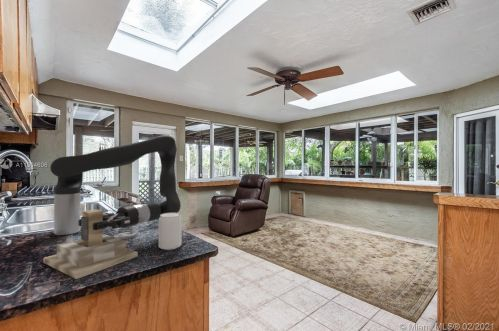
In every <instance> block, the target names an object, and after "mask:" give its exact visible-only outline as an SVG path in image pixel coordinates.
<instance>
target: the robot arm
mask: <svg viewBox="0 0 499 331" xmlns="http://www.w3.org/2000/svg"><path fill="white" fill-rule="evenodd" d="M177 150H178V148H177V144H176V139H175V138H174V137H173V136H172V135H169V134H167V135H166V134H164V135H159V136H154V137H151V138H148V139H145V140H142V141H137V142H133V143H129V144H122V145H117V146H112V147H109V148H103V149H99V150H97V151H94V152H89V153H85V154H78V155H70V156H68V155H67V156H60V157H57V158H56V159H54V160H53V161H52V162H51V164H50V167H49V168H50V172H51V173H52V174H53V175H54V176H56V177H57V183H56V185H55V187H54V190H53V204H54V205H53V223H54V224H53V235H56V236H65V235H72V234H76V233H79V232H81V209H82V208H81V200H82V199H81V198H82V197H81V194H82V193H81V189H82V186H83V173H85V172H90V171H96V170H105V169H113V168H118V167H123V166H127V165H128V166H129V165H131V164H133V163H134V162H136V161H138V160H139V159H141V158H143V157H144V156H145V155H148V154H153V153H158V155H159V158H160V159H159V160H160V174H159V194H160V196H161V197H163V198H165V200H164V201H162V202H160V203H156V202H149V203H140V204H132V205H126V206H121V207H118V209H117V210H116V212H110V213H109V212H103V221H101V222H96V223H93V230H99V229H103V230H104V229H112V230H115V229H119V228H121V229H126V228H131V227H134V226H138V225H141V224H142V225H143V224H145V223H148V222H152V221H157V220H158V221H159V218H160V215H161V214H164V213H179V212H180V210H181V201H180V197H179V194H178V192H177V179H176V169H175V166H176V165H175V164H176V157H177Z"/></svg>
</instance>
